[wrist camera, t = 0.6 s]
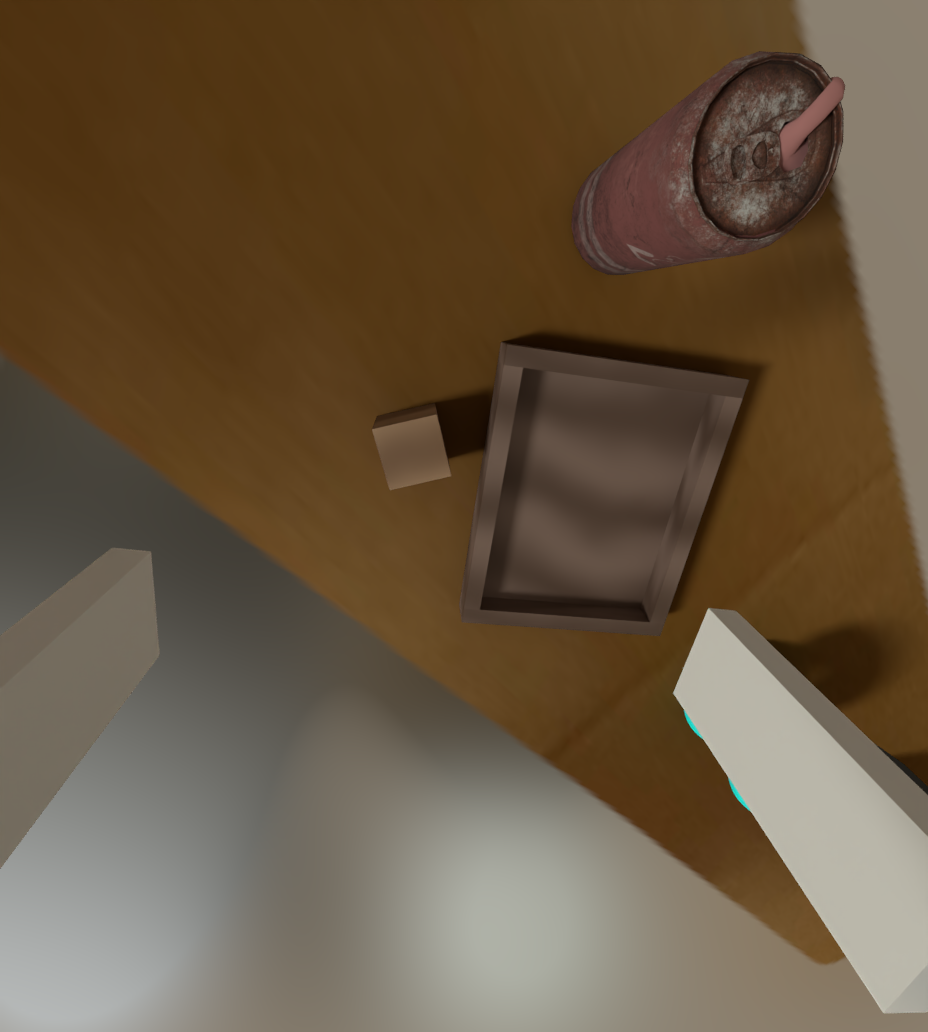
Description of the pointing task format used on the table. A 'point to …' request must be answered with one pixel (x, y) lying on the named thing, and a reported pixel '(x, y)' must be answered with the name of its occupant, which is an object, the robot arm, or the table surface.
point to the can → (716, 169)
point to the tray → (591, 489)
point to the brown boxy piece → (411, 446)
